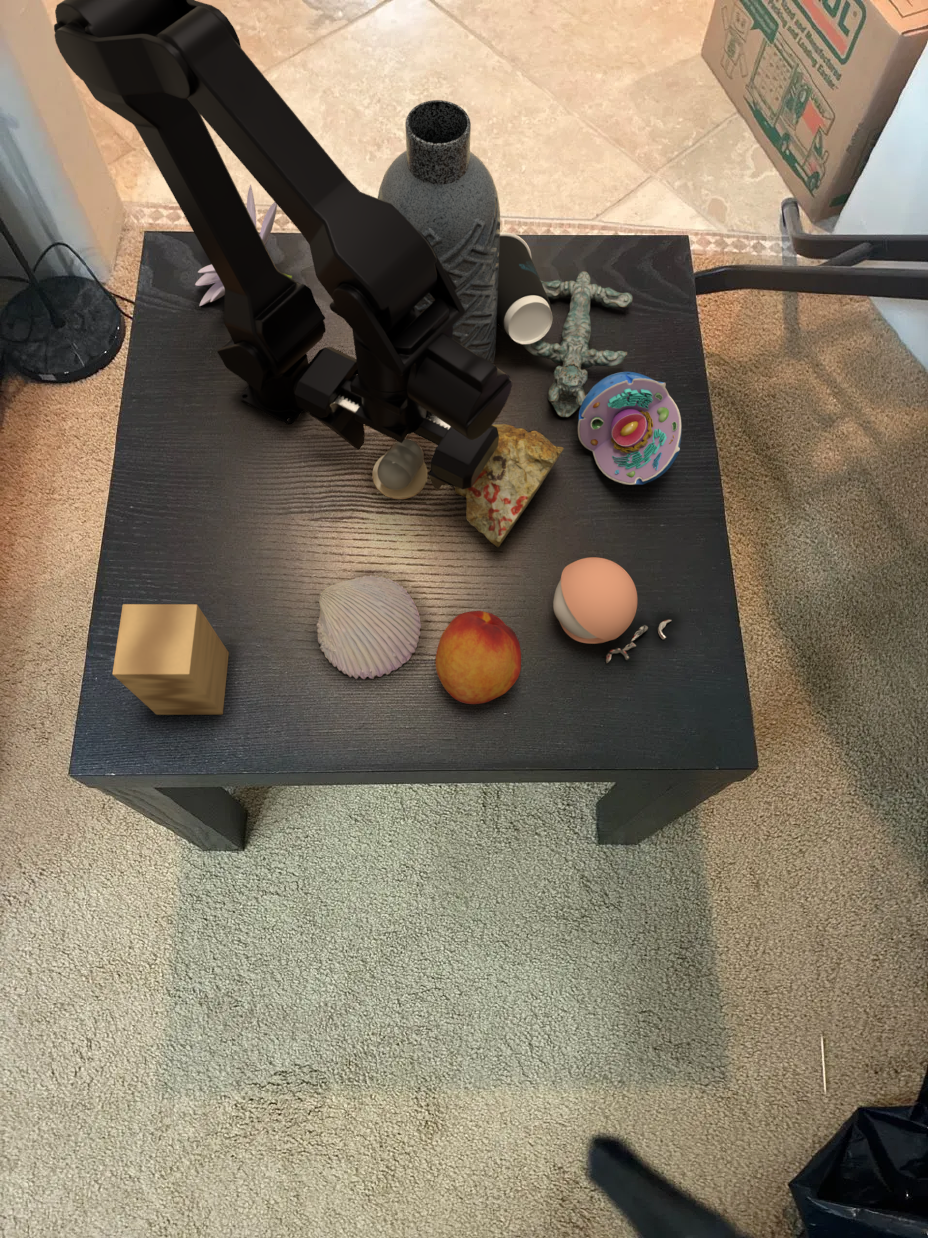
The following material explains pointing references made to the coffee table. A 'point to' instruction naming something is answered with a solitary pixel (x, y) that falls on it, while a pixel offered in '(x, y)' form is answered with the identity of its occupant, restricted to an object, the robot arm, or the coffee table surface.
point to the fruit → (478, 657)
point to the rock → (508, 481)
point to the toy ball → (595, 600)
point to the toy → (636, 635)
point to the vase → (451, 213)
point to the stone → (400, 464)
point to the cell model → (630, 427)
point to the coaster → (408, 491)
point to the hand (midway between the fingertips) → (399, 465)
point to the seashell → (367, 626)
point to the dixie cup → (520, 293)
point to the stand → (171, 659)
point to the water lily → (211, 274)
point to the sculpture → (577, 340)
